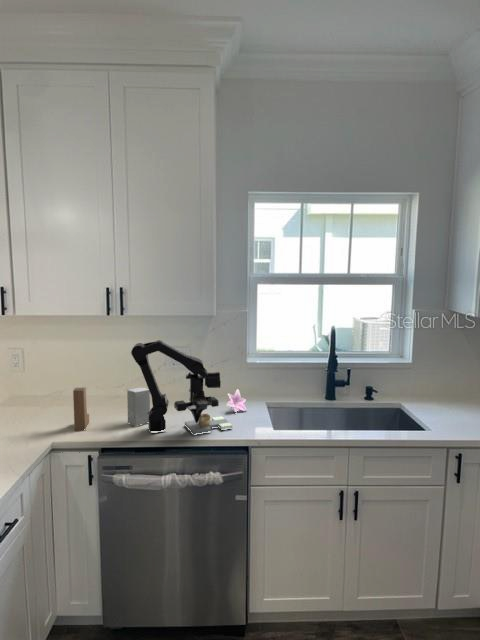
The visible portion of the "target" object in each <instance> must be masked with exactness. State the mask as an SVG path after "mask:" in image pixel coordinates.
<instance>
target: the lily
mask: <svg viewBox="0 0 480 640" xmlns="http://www.w3.org/2000/svg"><path fill="white" fill-rule="evenodd" d="M227 396H228V397H229V399H230V400H229V401H228V402H227V403H226V406H227V407H230V409H232V408H233V410H234V413H235V412H237V411H238V412H239V410H240V411H241V410H242V411H243V412H245V411H244V410H247V407H246V405H245V404H244V403H246V400H247V399H246V398H243V397H242V396H241V393H240V390H239V389H238V388H237V389H236V390H235V392H234V394H231V393H227ZM247 411H248V410H247Z"/></svg>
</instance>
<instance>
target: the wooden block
mask: <svg viewBox="0 0 480 640" xmlns="http://www.w3.org/2000/svg"><path fill="white" fill-rule="evenodd" d="M72 392H73V393H72V394H73V396H72V397H73V421H74V423H73V425H74V431H75V430H78V431H85V430H86V429H87V428H88V426H89V424H90V413H88V411H87V408H88V407H87V388H86V387H75V388H74V390H73V391H72ZM87 425H88V426H87ZM86 427H87V428H86ZM84 429H85V430H84Z"/></svg>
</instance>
